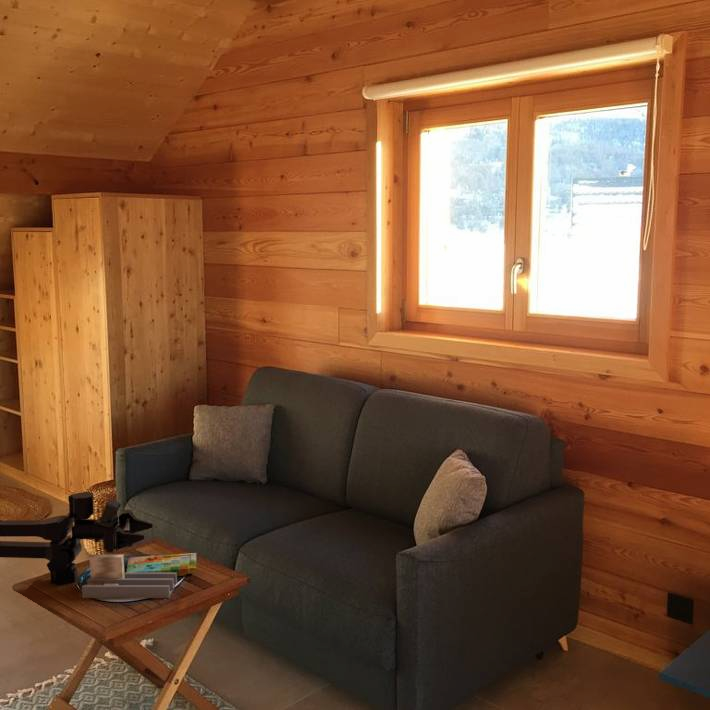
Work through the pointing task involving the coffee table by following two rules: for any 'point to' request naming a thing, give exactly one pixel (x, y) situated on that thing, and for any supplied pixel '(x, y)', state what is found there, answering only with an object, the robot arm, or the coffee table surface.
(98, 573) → the beige square panel
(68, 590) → the coffee table surface
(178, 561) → the puzzle game
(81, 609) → the coffee table surface
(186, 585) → the coffee table surface
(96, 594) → the rack
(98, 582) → the offcut dark
